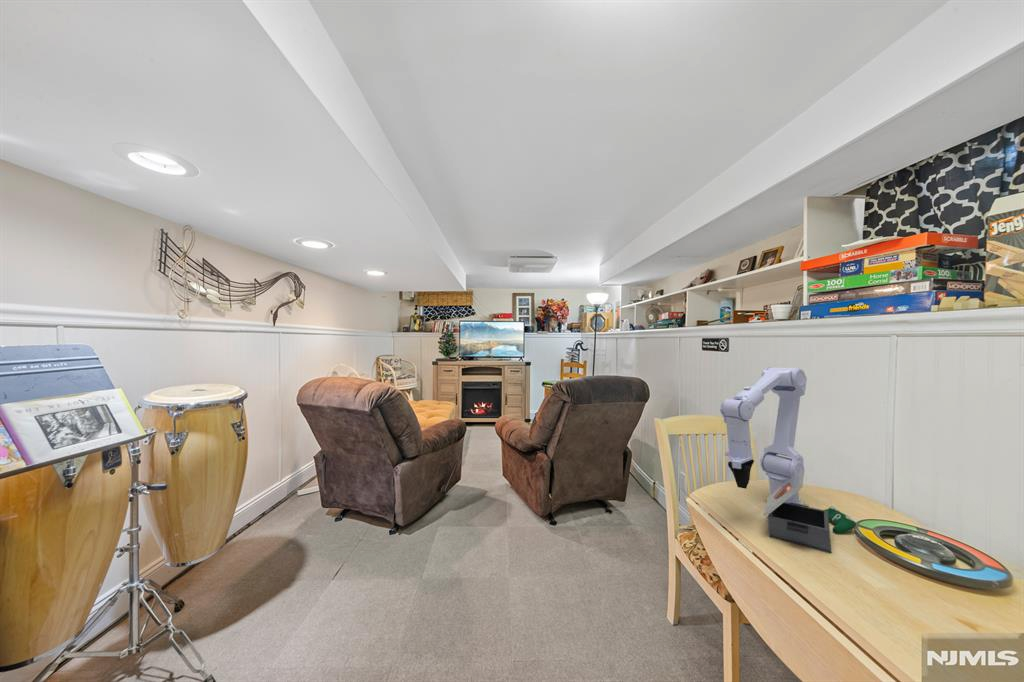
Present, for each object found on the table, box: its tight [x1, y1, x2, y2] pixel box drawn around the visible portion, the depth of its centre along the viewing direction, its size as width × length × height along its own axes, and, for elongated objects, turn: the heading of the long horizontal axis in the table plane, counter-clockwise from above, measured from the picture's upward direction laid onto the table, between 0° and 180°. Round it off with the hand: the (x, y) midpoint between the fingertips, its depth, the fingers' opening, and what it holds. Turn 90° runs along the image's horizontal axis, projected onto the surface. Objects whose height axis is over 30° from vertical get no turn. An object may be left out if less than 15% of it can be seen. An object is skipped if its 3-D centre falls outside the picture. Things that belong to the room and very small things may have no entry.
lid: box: [763, 470, 805, 517], centre depth 91 cm, size 13×13×1 cm
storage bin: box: [767, 502, 832, 554], centre depth 89 cm, size 16×12×6 cm
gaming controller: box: [824, 505, 857, 535], centre depth 92 cm, size 9×4×6 cm
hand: (743, 485), depth 98 cm, fingers open, 3 cm apart
